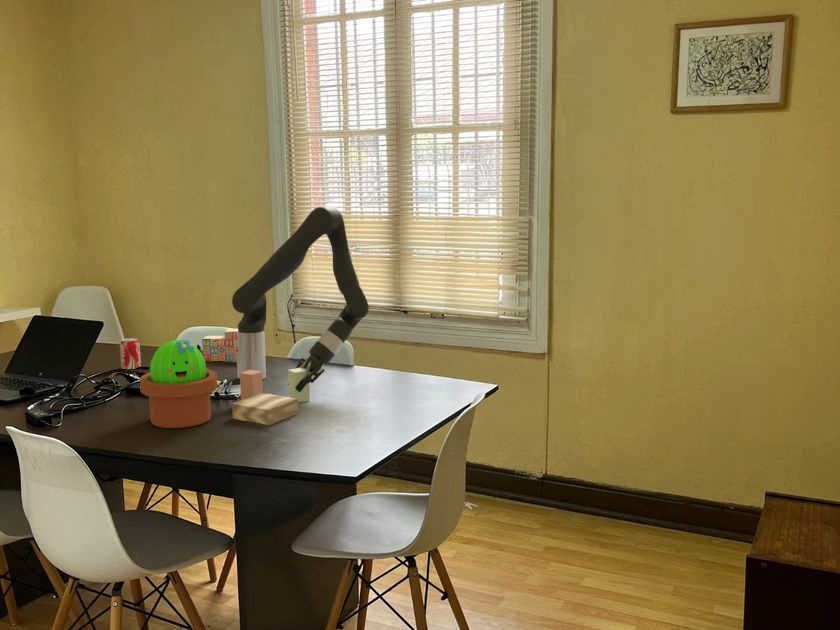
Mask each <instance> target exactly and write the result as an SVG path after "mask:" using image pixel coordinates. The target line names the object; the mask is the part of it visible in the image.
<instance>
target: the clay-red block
mask: <svg viewBox="0 0 840 630" xmlns="http://www.w3.org/2000/svg"><path fill="white" fill-rule="evenodd" d="M239 381H240V382H239V384H240V401H241V400H244V399H247V398H249V397H252V396H255V395H258V394H261V393H264V387H263V385H264V383H263V381H264V380H263V376H262V371H255V370H248V371H245V372H242V373H240V378H239Z"/></svg>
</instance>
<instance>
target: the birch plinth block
mask: <svg viewBox="0 0 840 630" xmlns="http://www.w3.org/2000/svg"><path fill="white" fill-rule="evenodd" d="M231 407H232V409H231V411H232V419H233V420H239V421H244V422H250V423H255V422H256V424H260V423H261V425H266V426H271V425H273V424H275V423H278V422H280V420H281V421H282V420H286V419H287V418H290V417H293V416H294V415H295V416H296V415H298V414H299V413H300V412H299V403H298V398H291V397H289V396H283V395H277V394H270V393H264V392H263V393H261V394H258V395H255V396H252V397H249V398H247V399H244V400H241V399H240V400H237V401H236V402H232V404H231ZM270 424H271V425H270Z"/></svg>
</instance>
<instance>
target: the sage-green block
mask: <svg viewBox="0 0 840 630" xmlns="http://www.w3.org/2000/svg"><path fill="white" fill-rule="evenodd" d="M295 368H296V367H295ZM295 368H289V369H287V375H288V378H287V379H288V383H289V385H288V397H291V398H298V404H299V403H304V402H310V400H311V397H310V396H311V395H310V394H311V393H310V383H309V384H308V383H307V385H306V386H305V387H304V388H303V390H302V391H301V392H298V391H297V390H296V389H295V387H296V386H297V385H298V383H299V382H300V381H301V380H302V379H303V377H304V375H305V374H306V371H305V370H306V369H304V368H296V369H295Z"/></svg>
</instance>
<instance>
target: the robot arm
mask: <svg viewBox="0 0 840 630" xmlns="http://www.w3.org/2000/svg"><path fill="white" fill-rule="evenodd" d="M344 221H345V220H344V217H343V213H342V212H341V211H340V209H338V208H337V207H334V206H318V207H316V208H314V209H312V211H311V212H310V213H309V214H308V215H307V216H306V218H305V219H304V221H303V222H302V223H301V225H299V227H298V228H297V230H295V232H294V233H292V234H291V236H290V237H289V238H287V240H286V241H285V242H284V243H283V244H282V245H281V246H279V248H278V249H277V250H275V252H274V253H273V254H272V255H271V256H270V257H269V258H268V260H267V261H266V262H264V263H263V265H262V266H261V267H260V268H259V270H257V272H256V273H254V275H253V276H252V277H251V278H250V279H249V280H247V281H246V282H245V283H244V284H243V285H241V286H240V287H239V288H238V289H236V291H234V292H233V295H232V298H231V303H232V307H233V309H234V311H236V312H238V313H240V314H243V316H242V318H241V320H240V321H239V322H238V324H237V329H238V342H239V352H237V362H236V368H237V371H236V374H237V379H240V373H242V372H245V371H248V370H255V371H262V376H263V379H264V380H265V379H266V377H267V370H266V369H267V368H266V364H267V363H266V362H267V361H266V340H265V339H266V338H265V325H266V323H267V296H266V293H268V291H270V290H271V289H273V288H275V287H276V286H278V285H279V284H281V283H282V282H284V281H285V280H287V279H288V278H289V277H290V276H291V275H292V274H294V272H296V271H297V269H299V268H300V266H301V265H302V264H303V262H304V260H305V258H306V256H307V253H308V251H309V248H311V246H312V245H314V243H315V242H316V241H318V239H320V238H321V237H323V236H324V235H326V237H327V238H328V240H329V243H330V246H331V252H332V270H333V272H332V273H333V274H334V279H335V281H336V282H335V283H336V284H337V285H336V286H337V287H338V290H339V292H340V293H341V294H342V295H343V298H344V302H345V306H344V307H343V309H342V311H340V313H339V315H338V316H337V318H336V319H335V320H334V321H333V322H332V323H330V325H329V326H328V328H327V329H326V331H325V332H323V333H322V334H321V336H319V338H318V339H317V340H316V342H315V343H314V344H313V346H311V348H310V349H309V351H308V353H309V356H308V357H307V358H306V359H304V358H303V357H302V358H301V359H300V360H299V361H298V363H297V364H296V366H295V368H294V369H296V368H304V369H306V370H305V371H306V374H305V375H304V377H303V379H302V380H301V381H300V382H299V383H298V385H297V386H296V387H295V389H296V390H297V391H298V392H301V391H302V390H303V388H304V387H305V386H306V385H307V383H308V384H309V385H310V383H311V384H313V383H314V382H315V381H316V380H318V378H319V377H320V376H322V374H323V373H324V372H326V371H325V369H324V367H323V366H328V365H329V364H330V362H331V361H332V360H333V359H334V357H335V356H336V354H337V353H339V351H340V349H341V348H342V346H343V345H344V343H345V342H346V340H347V339H348V338H349V337H350V336H351V334H352V333H353V330H354V328H356V326H357V325H358V324H359V322H360V321H361V320H362V319H364V318H365V317H366V316H367V315H368V313H369V309H370V308H369V302H368V300H367V296H366V295H365V293H364V291H363V289H362V287H361V285H360V283H359V279H358V276H357V273H356V270H355V267H354V265H353V260H352V257H351V253H350V249H349V244H348V238H347V234H346V232H347V231H346V227H345V222H344ZM287 385H288V386H289V382H288V383H287Z"/></svg>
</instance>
